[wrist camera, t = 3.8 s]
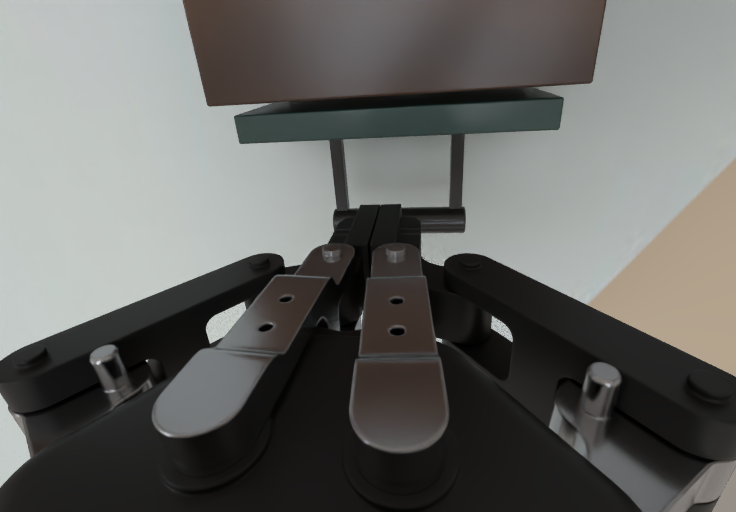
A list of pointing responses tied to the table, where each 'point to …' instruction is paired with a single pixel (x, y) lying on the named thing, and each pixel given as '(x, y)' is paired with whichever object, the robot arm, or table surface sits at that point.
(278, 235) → the table surface
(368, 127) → the drawer
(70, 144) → the table surface
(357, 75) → the cabinet
